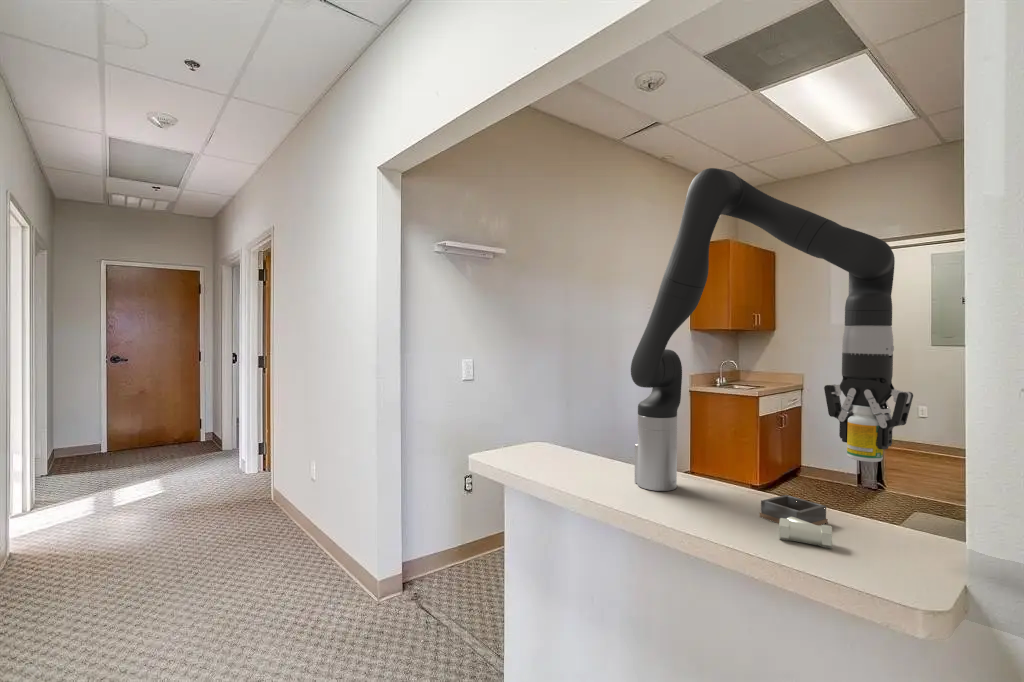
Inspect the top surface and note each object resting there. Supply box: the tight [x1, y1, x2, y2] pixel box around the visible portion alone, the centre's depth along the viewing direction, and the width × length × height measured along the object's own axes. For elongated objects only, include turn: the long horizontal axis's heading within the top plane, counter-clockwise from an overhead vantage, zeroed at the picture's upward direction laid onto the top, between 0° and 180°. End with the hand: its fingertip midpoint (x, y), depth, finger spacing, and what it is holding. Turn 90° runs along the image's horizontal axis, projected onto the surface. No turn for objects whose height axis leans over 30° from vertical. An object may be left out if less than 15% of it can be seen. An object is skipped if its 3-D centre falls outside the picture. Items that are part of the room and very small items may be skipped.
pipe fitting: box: [778, 517, 833, 549], centre depth 92 cm, size 8×4×7 cm
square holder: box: [758, 494, 829, 526], centre depth 102 cm, size 9×9×3 cm
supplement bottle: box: [846, 405, 884, 463], centre depth 92 cm, size 5×5×10 cm
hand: (864, 444), depth 92 cm, fingers closed on supplement bottle, 5 cm apart
